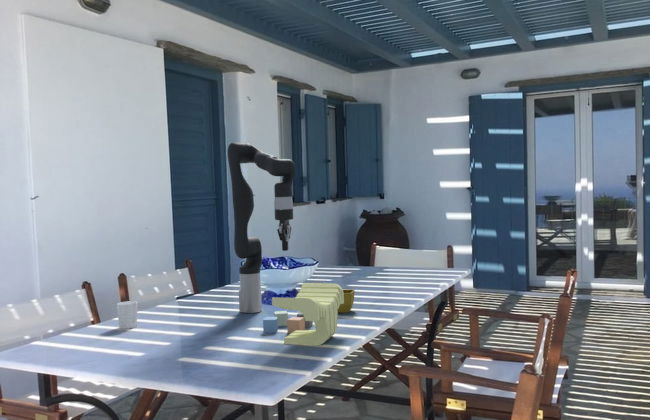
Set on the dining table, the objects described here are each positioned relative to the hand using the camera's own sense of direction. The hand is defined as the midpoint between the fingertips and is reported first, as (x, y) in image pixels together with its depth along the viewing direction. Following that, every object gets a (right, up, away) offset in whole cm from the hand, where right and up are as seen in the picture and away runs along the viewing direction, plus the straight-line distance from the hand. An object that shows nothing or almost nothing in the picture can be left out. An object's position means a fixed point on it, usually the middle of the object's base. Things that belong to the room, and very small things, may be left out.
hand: (285, 250), depth 243 cm
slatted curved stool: (+11, -30, -32) cm, 45 cm away
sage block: (-1, -29, -6) cm, 30 cm away
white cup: (-64, -32, 0) cm, 72 cm away
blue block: (-4, -30, -16) cm, 34 cm away
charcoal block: (+8, -29, -9) cm, 31 cm away
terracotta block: (+5, -29, -18) cm, 35 cm away
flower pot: (+24, -28, +15) cm, 40 cm away
